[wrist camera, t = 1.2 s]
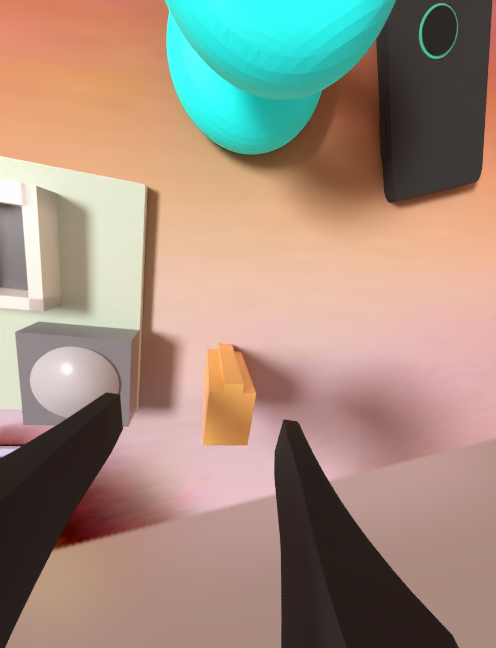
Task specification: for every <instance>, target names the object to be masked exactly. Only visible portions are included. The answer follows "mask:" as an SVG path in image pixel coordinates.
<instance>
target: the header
mask: <svg viewBox="0 0 496 648" xmlns="http://www.w3.org/2000/svg"><path fill="white" fill-rule="evenodd" d="M0 202H3V203H8V204H12V205H7V204H1V203H0V308H11V309H22V310H32V311H43V312H44V311H46V310H49V309H51V308H54V307H57V306H59V305H61V281H60V258H59V234H58V211H57V193H55V192H52V191H50V190H47V189H44V188H42V187H39V186H36V185H31V184H25V183H20V182H14V181H9V180H3V179H0ZM14 205H16V206H14ZM20 206H21V207H20Z"/></svg>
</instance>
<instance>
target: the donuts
mask: <svg viewBox="0 0 496 648" xmlns="http://www.w3.org/2000/svg"><path fill="white" fill-rule="evenodd" d="M395 1H396V0H165V2H166V4H167V6H168V9H169V11H170V12H169V17H168V25H167V57H168V64H169V69H170V73H171V78H172V81H173V85H174V88H175V90H176V93H177V95H178V98H179V100H180V102H181V104H182V106H183V108H184V109H185V111H186V113H187V114H188V116H189V117H190V119H191V120H192V121H193V123H194V124H195V125H196V126H197V127H198V129H199V130H200V131H201V132H202V133H203V134H204V135H206V136H207V137H208V138H209V139H210V140H212V141H213V142H214V143H216V144H218V145H219V146H221V147H223V148H225V149H227V150H230V151H233V152H236V153H241V154H250V155H254V154H263V153H267V152H271V151H274V150H276V149H278V148H280V147H282V146H284V145H285V144H287V143H288V142H290V141H291V140H292V139H293V138H295V137H296V136H297V135H298V134H299V133H300V131H301V130H302V129H303V128H304V127H305V125H306V124H307V123H308V121H309V120H310V118H311V116H312V115H313V113H314V111H315V109H316V106H317V104H318V102H319V99H320V96H321V93H322V90H323V89H325V88H327V87H329V86H330V85H332V84H333V83H335V82H336V81H338V80H339V79H340V78H342V77H343V76H344V75H346V74H347V73H348V72H349V71H350V70H351V69H352V68H353V67H354V66H355V65H356V64H357V63H358V62H359V61H360V60H361V58H362V57H363V56H364V55H365V53H366V52H367V51H368V50H369V48H370V47H371V46H372V44H373V43H374V41H375V40H376V38H377V37H378V35H379V33H380V32H381V30H382V28H383V26H384V24H385V22H386V20H387V18H388V16H389V14H390V12H391V10H392V8H393V6H394V4H395Z"/></svg>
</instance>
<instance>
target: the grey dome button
mask: <svg viewBox="0 0 496 648" xmlns="http://www.w3.org/2000/svg"><path fill="white" fill-rule="evenodd" d="M139 333H140V330H133V329H121V328H110V327H98V326H86V325H75V324H63V323H51V322H40V321H38V322H36V323H34V324H32V325H29V326H27V327H25V328H23V329H20V330H18V331H16V332H15V337H16V348H17V359H18V370H19V380H20V391H21V402H22V412H23V423H24V425H58V424H59V423H61V422H62V421H64V420H65V419H67V418H68V417H70V416H71V415H73V414H74V413H76V412H77V411H79V410H80V409H82V408H83V407H85V406H86V405H88V404H89V403H91V402H92V401H94V400H95V399H97V398H98V397H100V396H101V395H103V394H104V393H106V392H108V393H114V394H120V398H121V410H122V423H123V426H129V424H130V422H131V419H132V417H133V415H134V412H135V410H136V408H137V384H138V359H139Z"/></svg>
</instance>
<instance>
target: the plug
mask: <svg viewBox="0 0 496 648" xmlns="http://www.w3.org/2000/svg"><path fill="white" fill-rule="evenodd" d="M255 398H256V391H255V388H254V386H253V383H252V380H251V378H250V375H249V372H248V369H247V367H246V364H245V361H244V358H243V356H242V353H241V352H238V351H234V349H233V346H232V345H230V344H218V350H212V349H208V350H207V358H206V367H205V376H204V385H203V445H247V444H248V438H249V433H250V427H251V421H252V415H253V410H254V404H255Z"/></svg>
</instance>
